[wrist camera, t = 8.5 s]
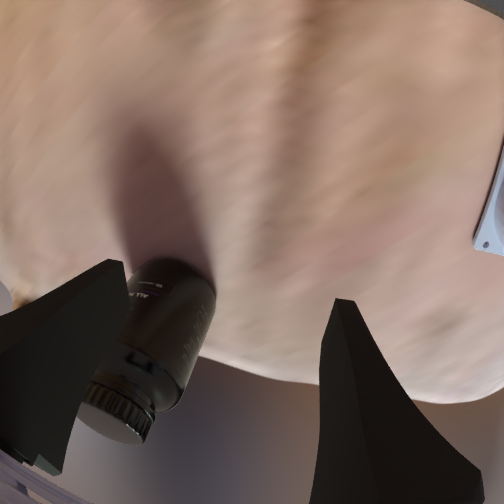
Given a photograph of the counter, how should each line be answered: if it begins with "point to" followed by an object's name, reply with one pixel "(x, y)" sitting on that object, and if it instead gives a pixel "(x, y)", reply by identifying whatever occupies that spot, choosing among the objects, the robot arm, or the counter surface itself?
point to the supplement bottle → (150, 351)
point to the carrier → (490, 6)
